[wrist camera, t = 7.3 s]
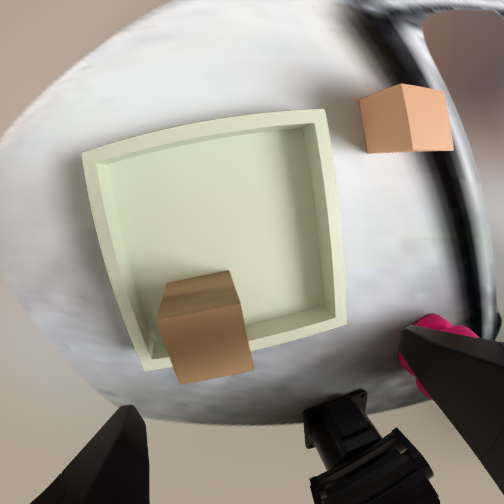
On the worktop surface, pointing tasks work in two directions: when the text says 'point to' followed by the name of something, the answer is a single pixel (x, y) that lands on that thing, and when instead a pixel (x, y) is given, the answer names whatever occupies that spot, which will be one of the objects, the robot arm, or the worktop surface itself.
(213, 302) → the walnut block
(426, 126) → the peach block
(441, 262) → the worktop surface
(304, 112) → the tray
